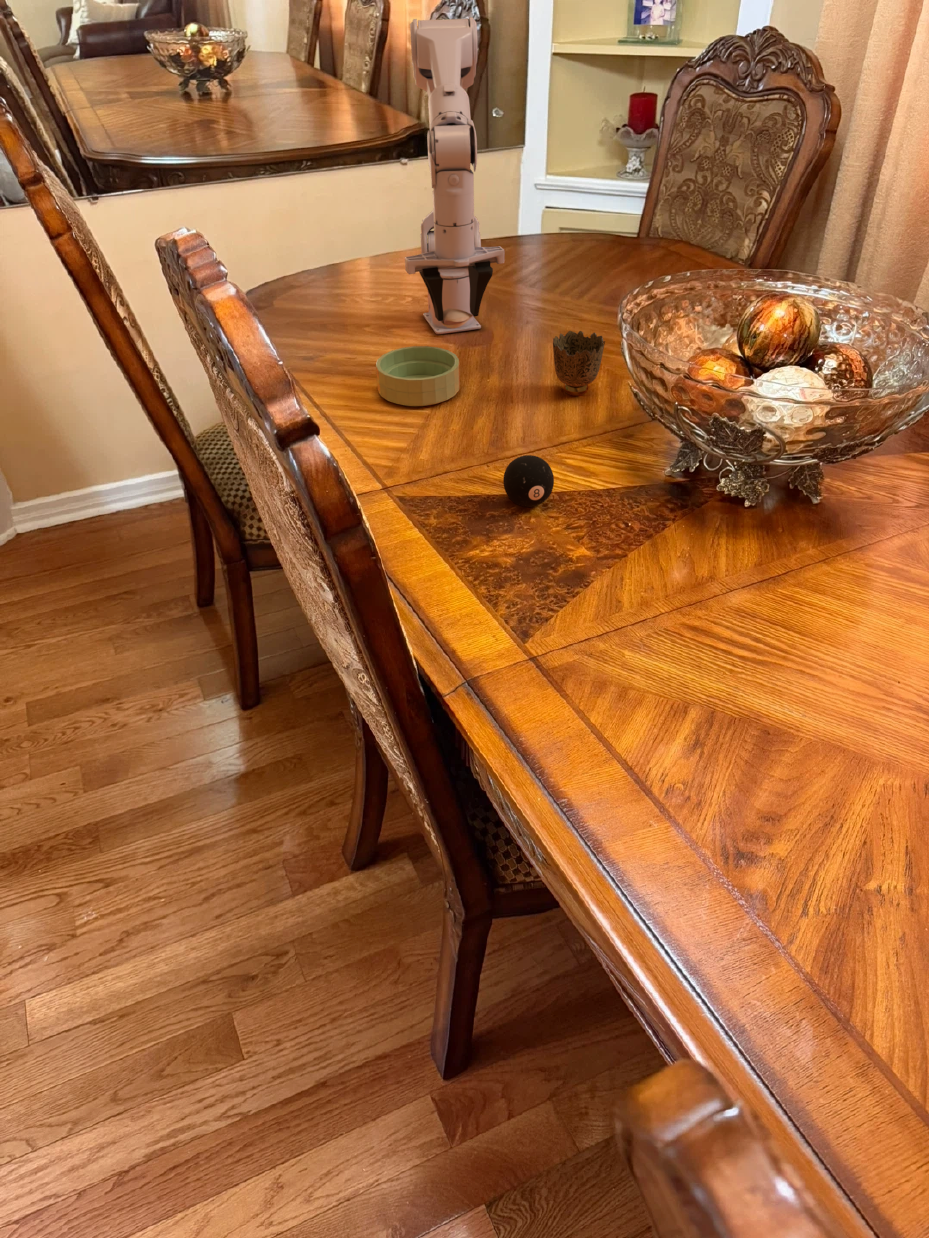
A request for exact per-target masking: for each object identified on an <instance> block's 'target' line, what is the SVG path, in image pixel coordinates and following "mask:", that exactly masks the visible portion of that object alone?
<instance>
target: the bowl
mask: <svg viewBox="0 0 929 1238" xmlns="http://www.w3.org/2000/svg"><path fill="white" fill-rule="evenodd" d="M375 371H376V372H375V373H376V374H375V375H376V384H377V392H378V394H379V396H380V397H381V398H383V399H385V400H386V401H388V402H391V403H393V404H397V405H401V406H406V407H427V406H432V405H436V404H439V403H443V402H445V401H448V400H450V399H451V398H453V397H455V396H456V395H457V394H458V392H459V391H460V387H461V385H460V384H461V382H460V380H461V379H460V378H461V376H460V359H459V358H458V355H456V353H454V352H452V351H450V350H448V349H445V348H442V347H438V346H429V345H412V346H405V347H399V348H396V349H393V350H390V351H388V352H386V353H383V354H382V355H380V357H379V358H377V359H376V364H375Z"/></svg>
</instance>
